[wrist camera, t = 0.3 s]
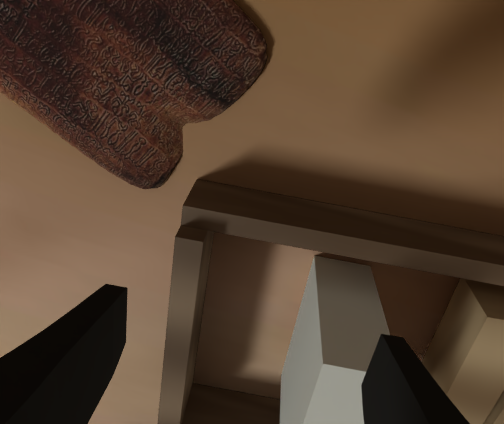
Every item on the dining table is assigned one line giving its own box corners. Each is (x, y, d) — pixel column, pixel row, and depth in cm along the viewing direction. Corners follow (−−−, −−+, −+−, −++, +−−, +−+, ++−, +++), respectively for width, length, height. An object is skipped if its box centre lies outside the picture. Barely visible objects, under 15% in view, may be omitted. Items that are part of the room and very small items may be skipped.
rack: (512, 454, 28) (545, 521, 24) (172, 390, 28) (155, 447, 24) (649, 263, 21) (722, 318, 17) (196, 179, 21) (177, 216, 17)
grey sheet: (328, 383, 26) (340, 513, 20) (281, 374, 26) (277, 501, 20) (370, 265, 22) (402, 378, 16) (314, 255, 22) (323, 363, 16)
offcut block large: (440, 408, 27) (459, 462, 24) (401, 401, 27) (415, 454, 24) (507, 281, 22) (542, 327, 19) (460, 272, 22) (487, 317, 19)
